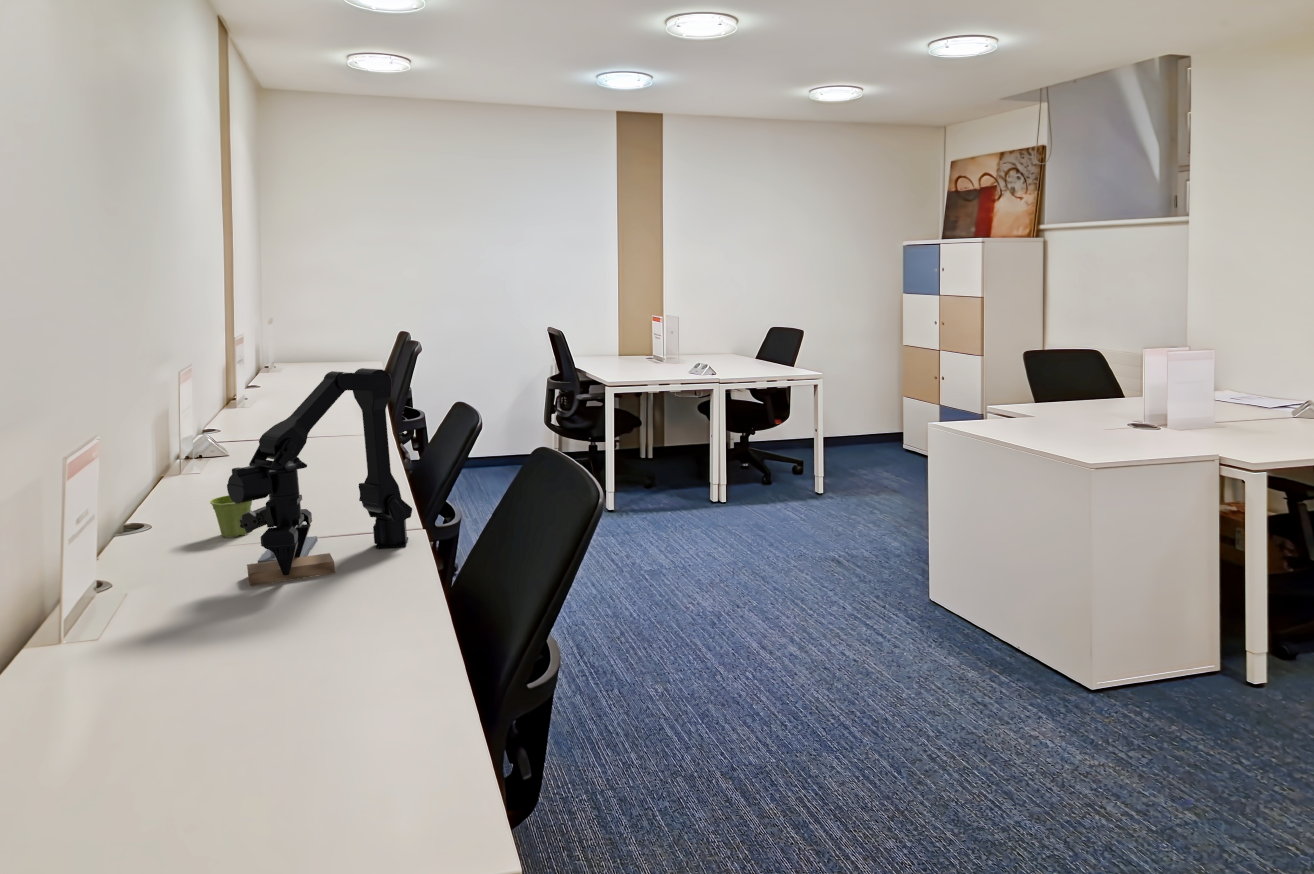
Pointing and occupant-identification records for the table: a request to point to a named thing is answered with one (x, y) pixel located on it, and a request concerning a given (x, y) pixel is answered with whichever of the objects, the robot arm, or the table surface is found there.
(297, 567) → the shelf board
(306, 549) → the peg stand
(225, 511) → the plant pot
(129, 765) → the table surface
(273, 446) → the robot arm
